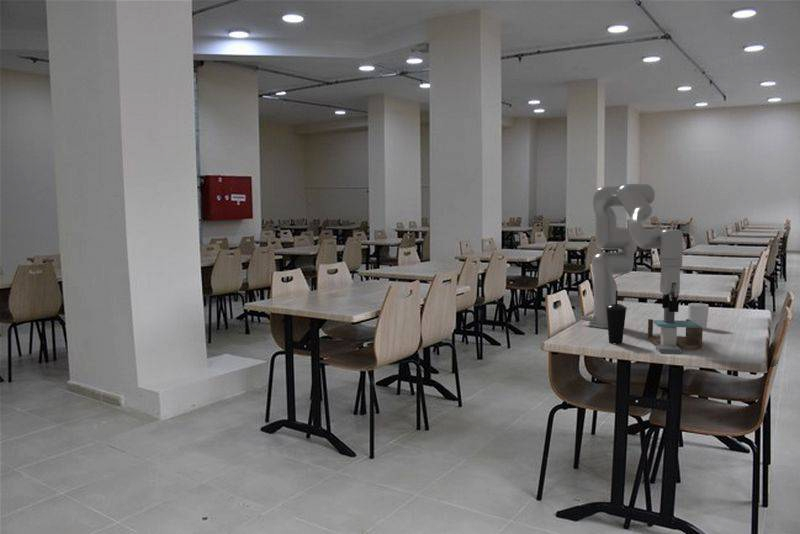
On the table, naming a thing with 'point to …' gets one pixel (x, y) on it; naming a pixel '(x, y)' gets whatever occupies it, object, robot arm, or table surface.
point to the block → (668, 335)
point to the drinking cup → (616, 321)
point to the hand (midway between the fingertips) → (670, 309)
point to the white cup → (698, 313)
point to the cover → (673, 321)
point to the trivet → (668, 349)
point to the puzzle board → (688, 342)
